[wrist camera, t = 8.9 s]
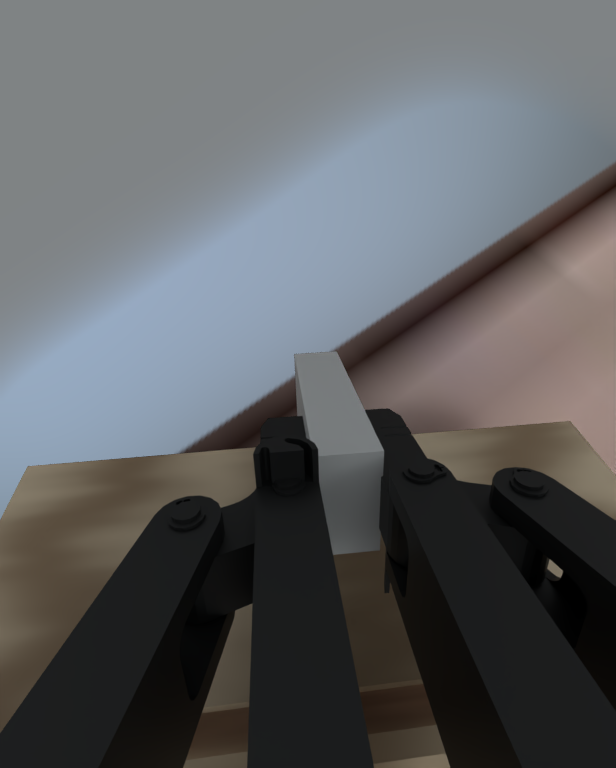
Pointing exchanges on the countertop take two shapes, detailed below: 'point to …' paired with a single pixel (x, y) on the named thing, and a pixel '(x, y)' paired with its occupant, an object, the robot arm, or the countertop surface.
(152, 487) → the flap
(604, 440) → the countertop surface
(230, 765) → the carton
